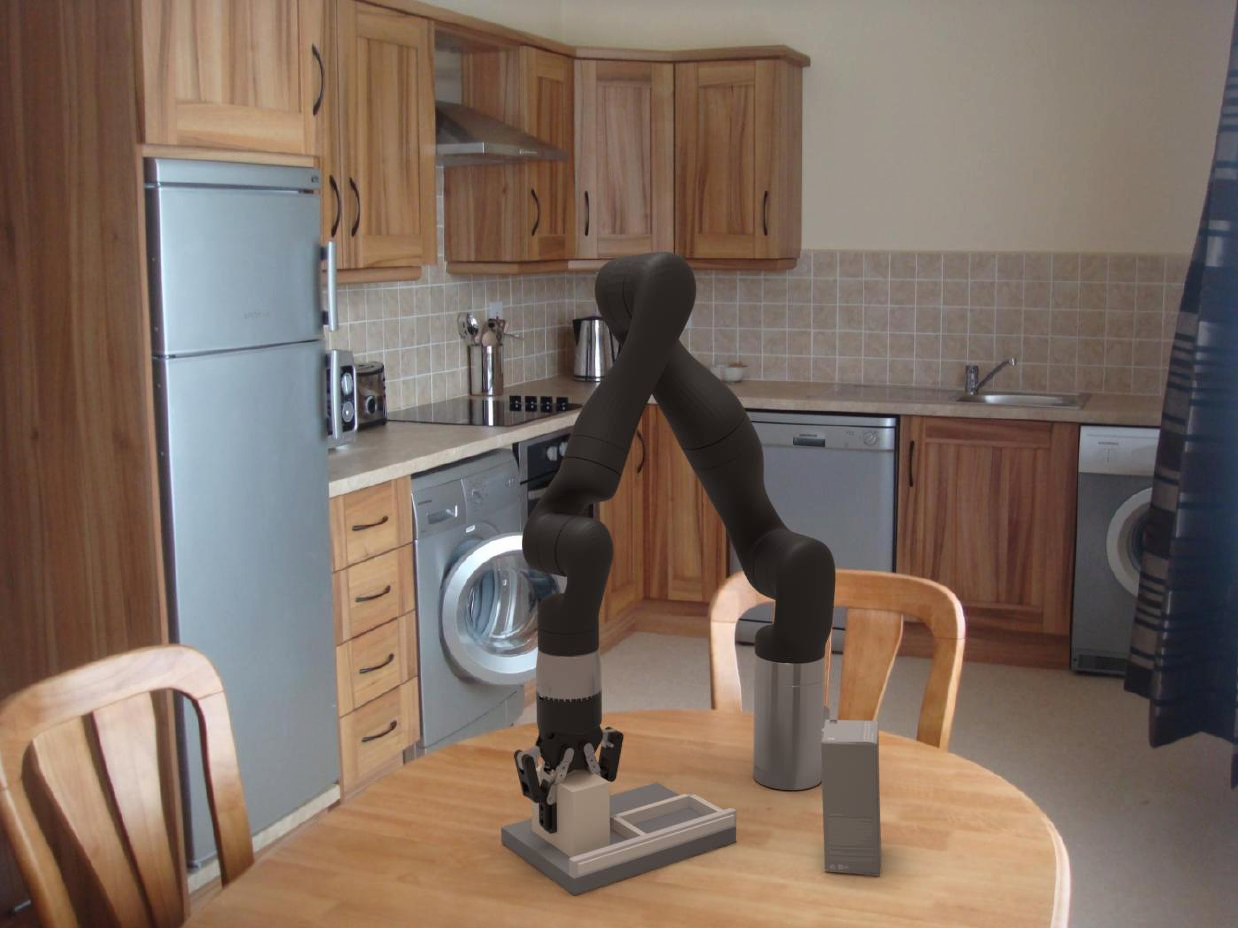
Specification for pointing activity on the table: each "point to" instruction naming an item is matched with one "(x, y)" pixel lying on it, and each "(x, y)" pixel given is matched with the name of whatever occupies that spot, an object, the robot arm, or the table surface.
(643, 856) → the shelf deck
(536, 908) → the table surface
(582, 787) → the cream box
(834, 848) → the skincare box
